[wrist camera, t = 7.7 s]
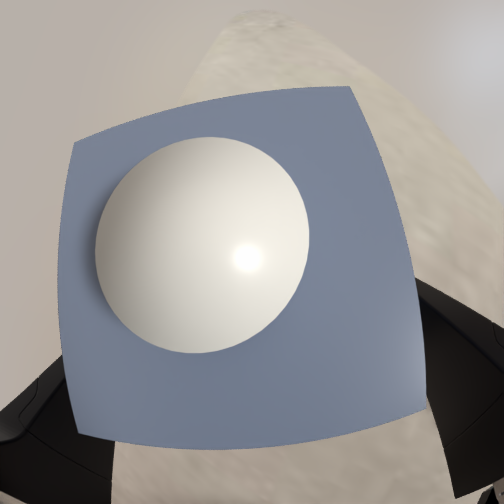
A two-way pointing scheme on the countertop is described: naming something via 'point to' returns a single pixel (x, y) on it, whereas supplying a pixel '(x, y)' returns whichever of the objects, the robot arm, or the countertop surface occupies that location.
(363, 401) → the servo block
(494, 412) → the robot arm
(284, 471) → the countertop surface
